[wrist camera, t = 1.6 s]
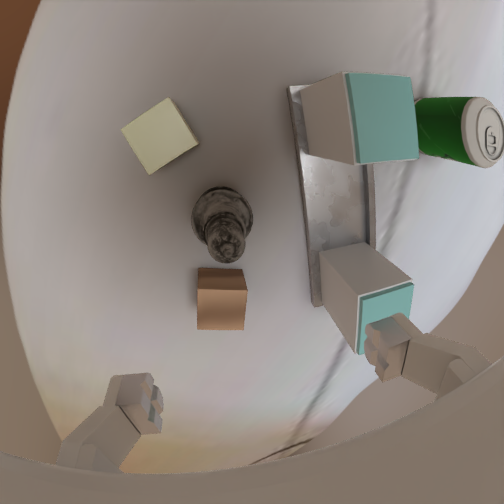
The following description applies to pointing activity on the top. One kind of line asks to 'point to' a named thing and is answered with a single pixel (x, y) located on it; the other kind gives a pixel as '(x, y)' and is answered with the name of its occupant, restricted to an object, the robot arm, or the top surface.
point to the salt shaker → (222, 223)
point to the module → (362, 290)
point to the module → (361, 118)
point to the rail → (331, 199)
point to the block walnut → (221, 299)
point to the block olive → (159, 135)
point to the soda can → (460, 129)
